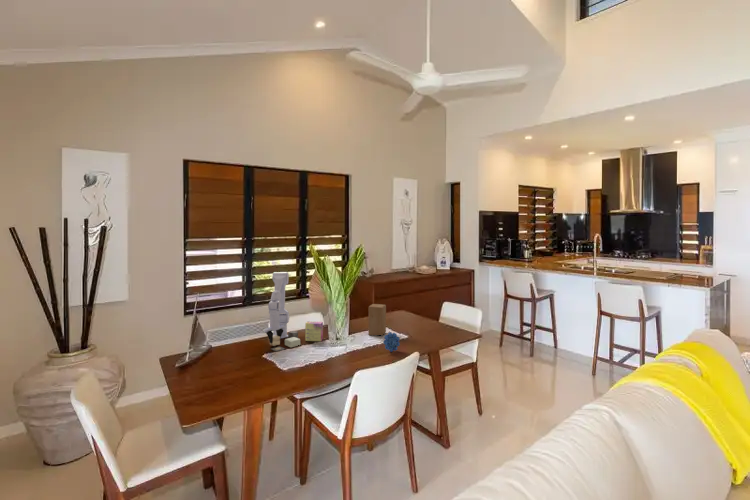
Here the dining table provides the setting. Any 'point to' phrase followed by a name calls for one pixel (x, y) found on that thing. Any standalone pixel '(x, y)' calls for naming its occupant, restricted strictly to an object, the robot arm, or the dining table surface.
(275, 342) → the birch block
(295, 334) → the gray block
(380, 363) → the dining table surface
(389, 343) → the grapes
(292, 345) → the grey-green pedestal
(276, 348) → the tile
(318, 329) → the box
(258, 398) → the dining table surface
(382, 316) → the wooden block
